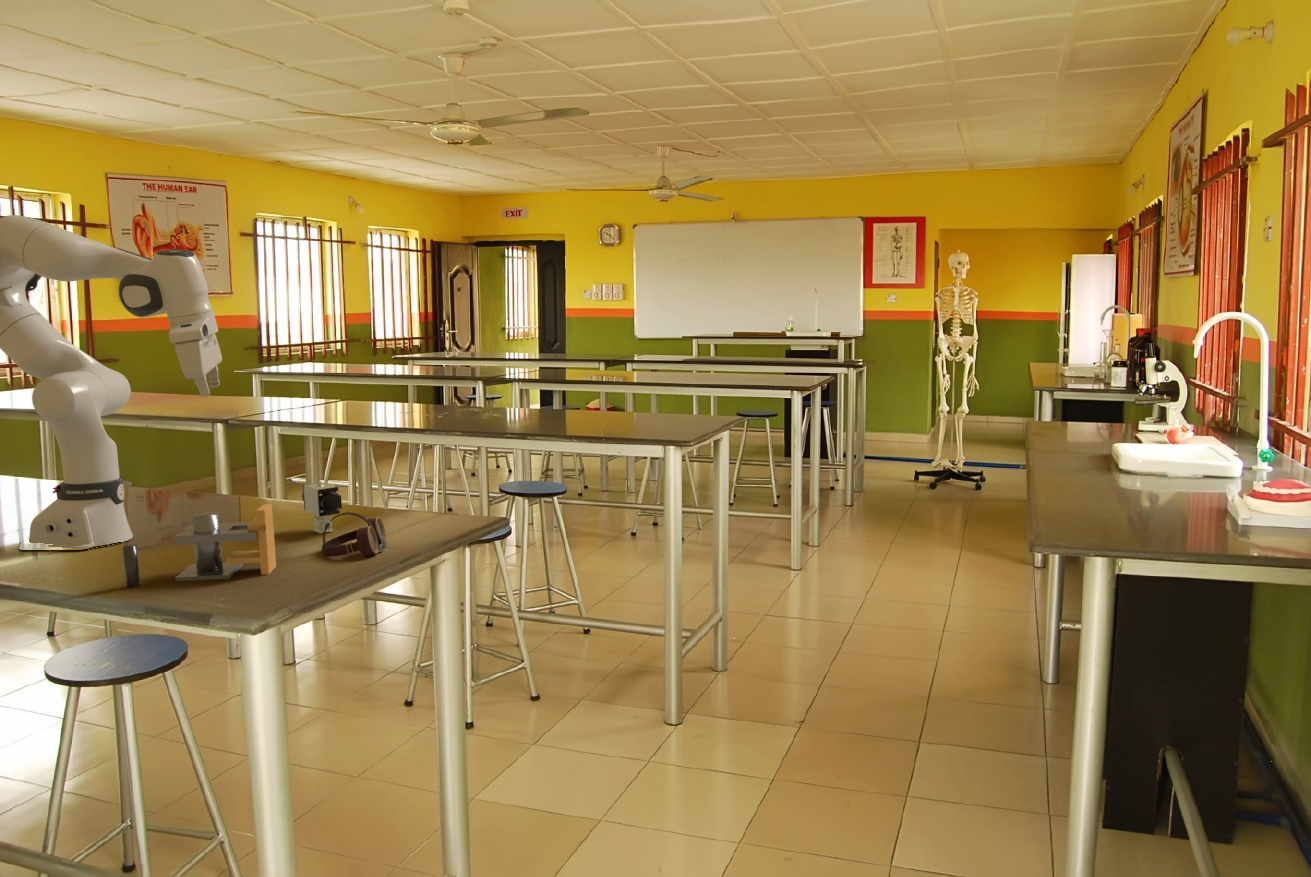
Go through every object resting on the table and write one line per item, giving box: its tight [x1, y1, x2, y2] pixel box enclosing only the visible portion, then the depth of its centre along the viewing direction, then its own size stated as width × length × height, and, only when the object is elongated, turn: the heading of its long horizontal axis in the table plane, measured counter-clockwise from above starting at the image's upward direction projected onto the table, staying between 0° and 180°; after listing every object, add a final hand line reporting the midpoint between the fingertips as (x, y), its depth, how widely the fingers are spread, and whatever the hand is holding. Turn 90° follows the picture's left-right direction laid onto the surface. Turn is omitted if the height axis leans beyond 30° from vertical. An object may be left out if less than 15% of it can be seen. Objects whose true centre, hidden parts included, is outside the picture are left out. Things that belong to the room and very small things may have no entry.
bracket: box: [225, 503, 277, 576], centre depth 200 cm, size 8×6×13 cm
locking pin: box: [122, 543, 141, 589], centre depth 191 cm, size 2×2×8 cm
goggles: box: [321, 511, 387, 558], centre depth 216 cm, size 15×13×10 cm
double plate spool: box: [173, 511, 259, 582], centre depth 200 cm, size 16×10×12 cm, turn 97°
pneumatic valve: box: [301, 480, 343, 535], centre depth 234 cm, size 6×12×12 cm, turn 42°
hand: (210, 391), depth 212 cm, fingers open, 8 cm apart
